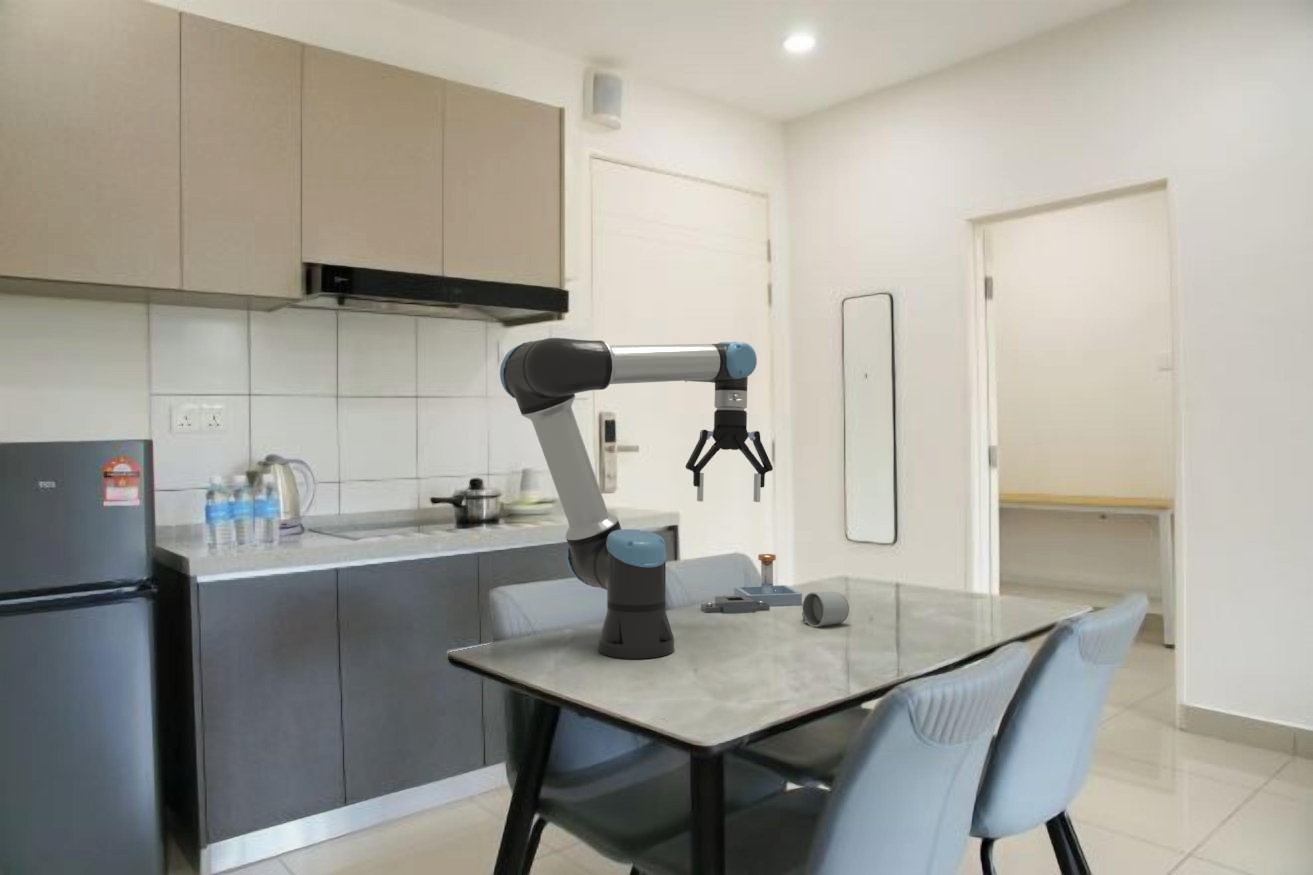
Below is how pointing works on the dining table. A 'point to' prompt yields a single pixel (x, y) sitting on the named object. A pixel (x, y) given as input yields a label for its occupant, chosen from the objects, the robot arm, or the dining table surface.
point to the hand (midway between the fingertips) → (728, 501)
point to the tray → (771, 595)
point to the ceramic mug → (824, 608)
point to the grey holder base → (734, 605)
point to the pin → (767, 572)
